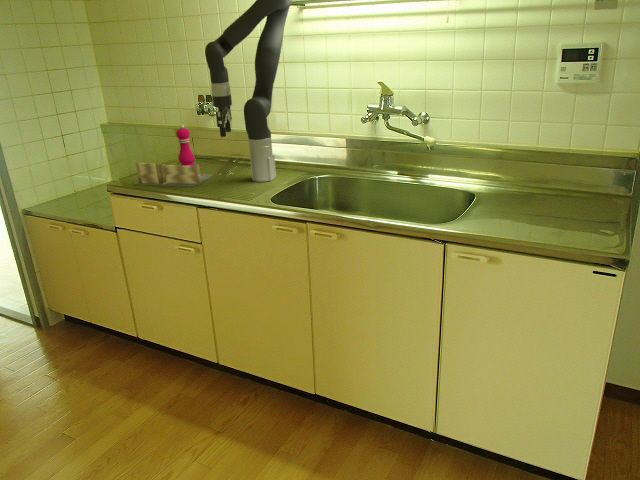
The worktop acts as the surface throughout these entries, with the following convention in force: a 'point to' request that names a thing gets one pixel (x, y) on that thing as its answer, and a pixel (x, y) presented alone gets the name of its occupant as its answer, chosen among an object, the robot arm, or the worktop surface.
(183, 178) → the fence gate
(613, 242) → the worktop surface
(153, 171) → the fence frame
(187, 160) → the pepper mill
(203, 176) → the card
